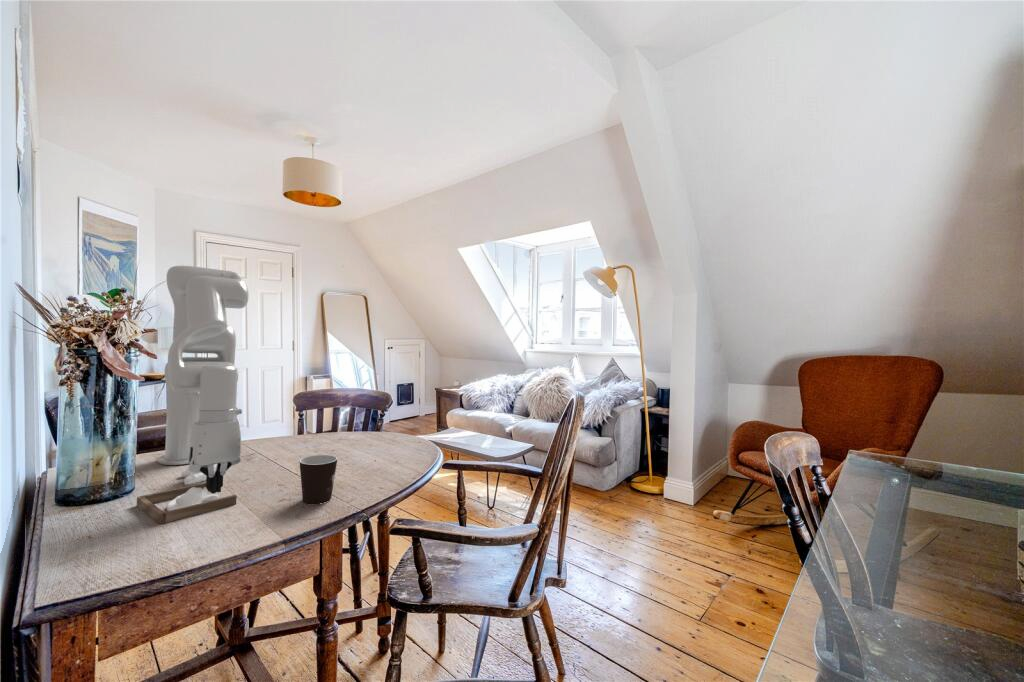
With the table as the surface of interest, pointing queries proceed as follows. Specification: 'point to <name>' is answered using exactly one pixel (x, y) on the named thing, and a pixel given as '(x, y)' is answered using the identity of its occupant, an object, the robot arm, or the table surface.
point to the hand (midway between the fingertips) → (214, 491)
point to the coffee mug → (317, 478)
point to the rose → (191, 498)
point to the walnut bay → (164, 517)
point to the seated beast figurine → (194, 476)
